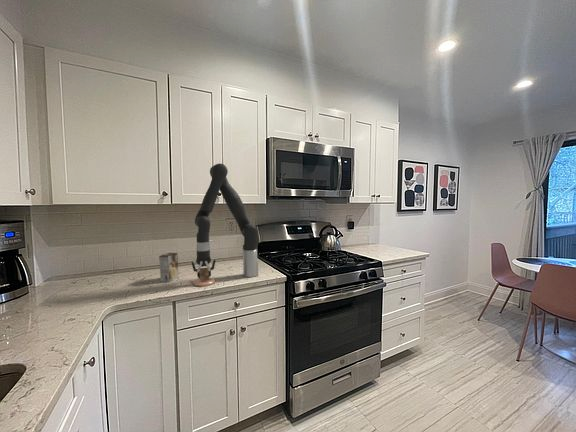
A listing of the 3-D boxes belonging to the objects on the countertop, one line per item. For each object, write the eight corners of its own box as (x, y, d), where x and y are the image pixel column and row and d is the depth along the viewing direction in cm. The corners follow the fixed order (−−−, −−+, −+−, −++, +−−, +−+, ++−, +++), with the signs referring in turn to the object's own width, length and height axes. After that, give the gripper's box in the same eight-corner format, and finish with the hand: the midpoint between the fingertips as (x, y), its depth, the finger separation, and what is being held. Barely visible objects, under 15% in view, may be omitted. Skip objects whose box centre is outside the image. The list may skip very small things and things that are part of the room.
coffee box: (170, 276, 165) (168, 252, 163) (178, 277, 163) (177, 252, 162) (160, 281, 156) (159, 255, 154) (169, 282, 154) (168, 256, 153)
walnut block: (208, 277, 155) (208, 267, 155) (208, 279, 151) (208, 269, 150) (199, 278, 154) (199, 268, 153) (199, 280, 149) (199, 270, 149)
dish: (213, 278, 160) (213, 276, 160) (215, 285, 149) (215, 282, 149) (193, 281, 156) (193, 278, 156) (193, 287, 145) (193, 285, 145)
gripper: (215, 247, 157) (216, 274, 158) (190, 249, 152) (191, 276, 153) (216, 249, 150) (217, 277, 151) (190, 251, 145) (191, 280, 146)
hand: (204, 277), depth 152 cm, fingers closed on walnut block, 5 cm apart
